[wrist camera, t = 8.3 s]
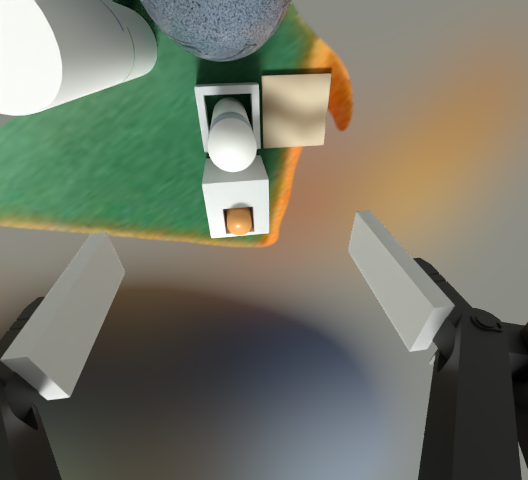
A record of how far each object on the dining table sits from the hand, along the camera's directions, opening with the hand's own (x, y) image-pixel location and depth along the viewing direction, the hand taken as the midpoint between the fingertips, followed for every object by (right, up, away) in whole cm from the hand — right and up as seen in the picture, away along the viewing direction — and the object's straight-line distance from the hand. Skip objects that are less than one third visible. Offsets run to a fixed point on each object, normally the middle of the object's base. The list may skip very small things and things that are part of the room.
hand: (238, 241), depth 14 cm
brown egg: (-3, +6, +28) cm, 29 cm away
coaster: (+6, +20, +26) cm, 33 cm away
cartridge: (-4, +19, +25) cm, 32 cm away
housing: (-4, +15, +28) cm, 32 cm away
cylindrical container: (-16, +25, +19) cm, 35 cm away
